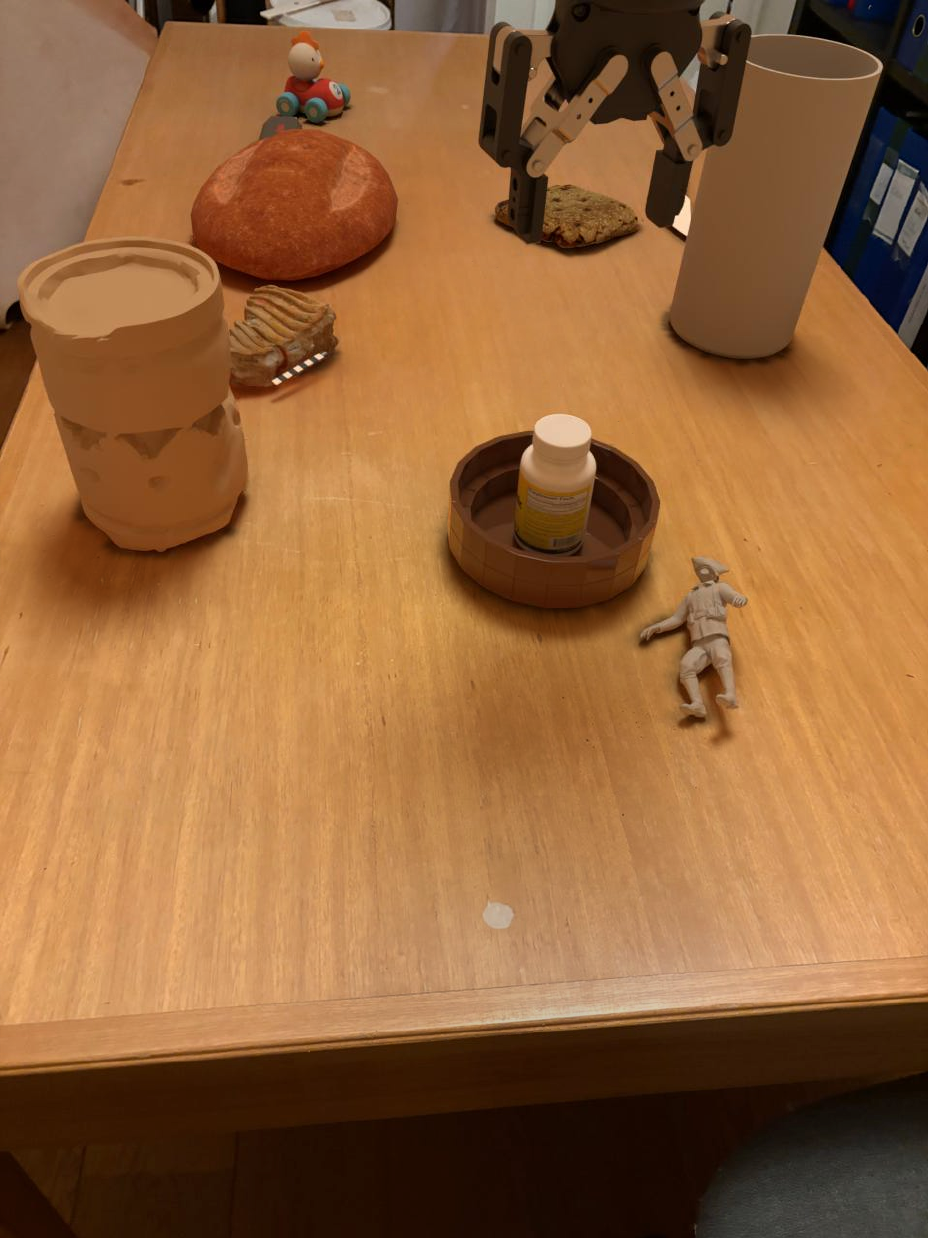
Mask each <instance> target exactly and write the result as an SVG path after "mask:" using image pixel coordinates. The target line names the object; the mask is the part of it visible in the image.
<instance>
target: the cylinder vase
mask: <svg viewBox="0 0 928 1238" xmlns="http://www.w3.org/2000/svg"><path fill="white" fill-rule="evenodd" d="M883 69H884V65H883V63H882V62H881V60H880V59H879V58H877V57H876V56H874V54H873V55H872V54H871V53H870V52H868V51H865V50H863V49H860V48H858V47H855V46H852V45H849V44H845V43H842V42H839V41H834V40H829V39H825V38H819V37H813V36H807V35H797V34H786V33H785V34H784V33H772V34H771V33H765V34H764V33H763V34H754V35H751V41H750V46H749V51H748V56H747V61H746V66H745V71H744V77H743V82H742V87H741V92H740V97H739V102H738V107H737V113H736V118H735V123H734V128H733V133H732V137H731V139H730V140H729V142H728V143H727V144H726V145H724V146H721V147H718V146H716V145H712V146H710V147H708V148H706V151H705V156H704V161H703V164H702V169H701V174H700V178H699V182H698V187H697V191H696V194H695V199H694V204H693V208H692V212H691V221H690V226H689V230H688V235H687V236H686V239H685V244H684V249H683V253H682V256H681V257H682V258H681V262H680V266H679V270H678V274H677V279H676V284H675V288H674V292H673V297H672V301H671V306H670V309H669V322H670V325H671V327H672V329H673V330H674V332H675V333H676V334H677V335H678V336H679V337H680V338H681V339H682V340H683V341H685V342H686V343H687V344H689V345H690V346H692V347H694V348H696V349H698V350H700V351H703V352H706V353H708V354H712V355H715V356H718V357H724V358H731V359H738V360H739V359H740V360H749V359H750V360H751V359H760V358H765V357H769V356H772V355H774V354H777V353H779V352H781V351H782V350H784V349H785V348H787V346H788V345H789V344H790V342H791V340H792V339H793V337H794V333H795V331H796V328H797V324H798V322H799V319H800V317H801V313H802V310H803V307H804V304H805V301H806V298H807V295H808V292H809V289H810V286H811V283H812V280H813V277H814V274H815V272H816V268H817V265H818V262H819V259H820V256H821V253H822V250H823V247H824V244H825V241H826V239H827V235H828V232H829V229H830V226H831V223H832V222H833V221H832V220H833V217H834V215H835V212H836V208H837V206H838V202H839V200H840V197H841V194H842V190H843V188H844V184H845V181H846V180H847V179H846V178H847V176H848V172H849V170H850V167H851V164H852V160H853V158H854V155H855V152H856V149H857V146H858V143H859V140H860V137H861V134H862V131H863V129H864V125H865V122H866V119H867V116H868V113H869V110H870V107H871V104H872V101H873V98H874V95H875V92H876V90H877V87H878V83H879V80H880V77H881V75H882V71H883Z"/></svg>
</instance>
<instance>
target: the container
mask: <svg viewBox="0 0 928 1238" xmlns="http://www.w3.org/2000/svg"><path fill="white" fill-rule="evenodd" d="M16 283H17V291H18V299H19V306H20V307H19V308H20V310H21V313H22V316H23V318H24V320H25V322H27V323H29V324H30V326H31V328H30V333H29V334H30V335H29V336H30V339H31V343H32V346H33V349H34V353H35V356H36V358H37V363H38V366H39V371H40V374H41V378H42V382H43V386H44V389H45V392H46V395H47V399H48V401H49V403H50V406H51V407H52V409H53V411H54V413H53V416H54V420H55V424H56V427H57V429H58V434H59V436H60V440H61V442H62V446H63V448H64V452H65V454H66V459H67V463H68V465H69V468H70V471H71V474H72V475H71V476H72V479H73V481H74V484H75V487H76V490H77V492H78V494H79V496H80V503H81V507H82V509H83V512H84V515H85V516H86V517H87V519H88V520H89V521H90V522H91V523H92V524H93V525H94V526H95V527H97V528H98V529H99V530H100V531H102V532H103V533H104V534H106V535H107V536H108V538H109V539H110V540H111V541H112V543H113V544H115V545H116V546H117V547H119V549H126V550H132V551H139V552H149V551H153V550H155V551H157V552H158V553H162V552H163V553H164V552H166V550H167V549H171V548H175V547H177V546H179V545H181V544H186V543H188V542H190V541H194V540H196V539H199V538H200V537H203V536H205V535H208V534H213V533H215V532H217V531H219V530H220V529H222V528H225V527H226V526H227V525H228V524H230V522H231V518H232V515H233V511H234V509H235V508H236V504H237V502H238V498H239V495H240V494H241V493H243V492H245V491H247V489H248V487H249V484H250V481H251V479H250V478H251V477H250V473H249V463H248V455H247V450H246V443H245V435H244V430H243V429H244V428H243V424H242V420H241V419H242V418H241V413H240V410H239V407H238V404H237V402H236V399H235V397H234V394H233V391H232V389H231V386H230V382H229V379H230V370H231V349H230V337H229V335H230V332H229V325H228V319H227V315H226V313H225V298H224V291H223V284H222V279H221V274H220V271H219V268H218V265H217V263H216V261H215V260H213V259H212V258H211V257H209V256H208V255H207V254H206V253H204V252H203V251H202V250H201V249H200V248H197V247H195V246H192V245H190V244H187V243H184V242H182V241H177V240H173V239H168V238H163V237H162V238H161V237H155V236H154V237H153V236H141V235H138V236H137V235H133V236H132V235H130V236H129V235H128V236H114V237H113V236H111V237H106V238H99V239H92V240H88V241H87V240H86V241H83V242H80V243H76V244H73V245H70V246H68V247H66V248H63V249H60V250H57V251H55V252H54V253H51V254H47V255H46V256H44V257H42V258H39V259H36V260H34V261H33V262H31V263H30V264H29V265H28V266H27V267H26V268H25V269H23V270H22V271H21V273H20V275H19V277H18V279H17V282H16Z"/></svg>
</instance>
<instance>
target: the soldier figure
mask: <svg viewBox="0 0 928 1238" xmlns="http://www.w3.org/2000/svg"><path fill="white" fill-rule="evenodd" d="M691 563H692V566H693V571H694V573H695V575H696V577H697V579H698V580H699V583H700V584H699V583H697V584H695V586H693V587H692V588H691V591H689V592H688V593H686V594H685V595H684V597H683V599H682V600H681V601H680V603H679V606H678V608H677V609H676V611H675V612H674V613H673V614H672V616H670V617H668V618H666V619H665V620H662V621H659V622H656V623H655V624H653V625H651V626H649V627H646V628H645V629H644V630H643V631H642V632H641V633H640V635H639V639H641V638H642V637H645V638H646V639H645V640H646V641H649V640H650V637H651V636H652V635H653V634H654V633H655V634H660V633H664V632H668V631H672V630H674V629H677V628H679V627H681V626H682V625H683V624H684V623H685V622H686V621H687V622H686V625H687V626H686V628H687V629H688V630H689V634H690V645H691V647H692V648H691V649H689V650H687V652H686V653H685V654H684V656H683V657H682V658H681V660H680V661H679V665H678V673H679V677H680V679H679V682H680V684H682V685H683V686H684V688H685V690H686V692H687V694H688V696H689V699H690V701H691V703H690V704H688V703H682V704H681V705H680V707H679V710H680V711H681V713H683V714H685V715H688V716H689V715H693V716H694V717H697V718H704V717H707V716H708V714H707V709H706V706H705V705H704V704H703V698H702V694H701V689H700V684H699V678H698V677H697V675H698V674H700V673H702V671H703V670H704V669H705V668H707V667H708V666H710V665H712V666H713V668H714V669H715V670H716V672H717V675H719V678H720V681H721V684H722V687H723V689H724V694H723V693H719V694H717V695H716V696H715V704H717V705H718V706H721V707H726V709H727V710H738V709H739V708H740V706H739V701H738V698H737V695H736V685H735V684H736V683H735V673H734V669H733V668H734V667H733V664H732V663H733V654H732V652H731V651H732V650H731V636H730V632H729V629H728V626H727V621H728V614H727V613H728V612H727V605H731V607H734V608H736V609H741V608H744V607H746V605H748V603H749V599H748V597H746V596H745V595H743V594H741V593H739V592H738V591H737V590H735V589H734V588H732V587H731V586H730V585H729V584H728V582H726V581H720V577H721V576H722V575H723V574H725V573H729V572H730V569H729V568H727V567H726V565H724V564H723V563H722V562H720V561H718V560H715V559H712V558H708V557H706V556H698V557H691Z"/></svg>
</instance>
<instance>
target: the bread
mask: <svg viewBox="0 0 928 1238" xmlns="http://www.w3.org/2000/svg"><path fill="white" fill-rule="evenodd" d="M398 204H399V197H398V195H397V193H396V191H395V187H394V185H393V182H392V180H391V177H390V174H389V173H388V171H387V170H386V168H385V167H384V166H383V164H382V163H381V162H380V160H378V159H377V158H376V157H375V156H374V155H373V154H372V153H370V151H368V150H366V149H365V148H363V147H361V146H359V145H358V144H356V143H354V142H353V141H350V140H347V139H345V138H342V137H339V136H337V135H334V134H331V133H329V132H326V131H323V130H320V129H314V128H302V129H291V130H284V131H281V132H279V133H277V134H275V135H274V136H272V137H270V138H264V139H261V140H259V139H258V140H256V141H254V142H251V143H250V144H248V145H246V146H245V147H244V148H242V149H240V150H239V151H238V152H235V154H233V155H232V156H231V157H230V158H228V159H227V160H225V161H224V162H222V163H220V164H219V165H218V166H217V167H216V169H215V170H214V171H213V172H212V173H211V174H210V176H209V177H208V178H207V179H206V181H205V182H204V183H203V185H202V186H201V187H200V189H199V191H198V193H197V195H196V197H195V198H194V201H193V203H192V208H191V211H190V221H191V230H192V235H193V238H194V240H195V243H196V246H197V247H198V248H197V249H199V250H201V251H202V252H204V253H205V254H207V255H208V256H209V257H211V258H212V259H213V260H214V261H215V262H217V263H219V264H221V265H222V266H225V267H227V268H230V269H232V270H235V271H239V272H241V273H245V274H248V275H251V276H253V277H257V278H259V279H263V280H266V281H267V280H268V281H269V280H270V281H297V280H302V279H307V278H313V277H317V276H320V275H323V274H325V273H328V272H330V271H333V270H337V269H338V268H341V267H344V266H345V265H347V264H349V263H351V262H353V261H355V260H356V259H358V258H360V257H361V256H363V255H365V254H366V253H367V254H368V253H369V252H370V251H372V250H373V249H374V248H375V247H377V246H379V245H380V243H381V242H382V241H383V240H384V239H385V237H386V236H388V234H389V233H390V232H391V230H392V228H393V226H394V225H395V222H396V221H397V214H398Z"/></svg>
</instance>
